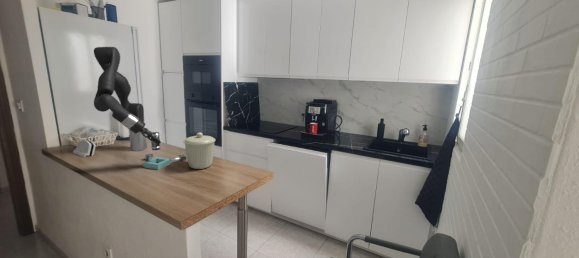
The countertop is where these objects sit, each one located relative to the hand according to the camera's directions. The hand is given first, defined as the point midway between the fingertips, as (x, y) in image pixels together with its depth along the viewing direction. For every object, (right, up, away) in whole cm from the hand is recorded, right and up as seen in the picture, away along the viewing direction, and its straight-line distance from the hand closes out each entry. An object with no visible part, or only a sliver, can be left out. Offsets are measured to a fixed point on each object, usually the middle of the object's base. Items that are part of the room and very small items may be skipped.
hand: (159, 142), depth 141 cm
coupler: (-2, -4, 0) cm, 4 cm away
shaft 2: (+5, -13, +10) cm, 17 cm away
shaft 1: (-10, -12, +9) cm, 19 cm away
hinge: (-59, -9, +17) cm, 62 cm away
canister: (+23, -15, +5) cm, 28 cm away
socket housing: (-2, -14, +2) cm, 15 cm away
